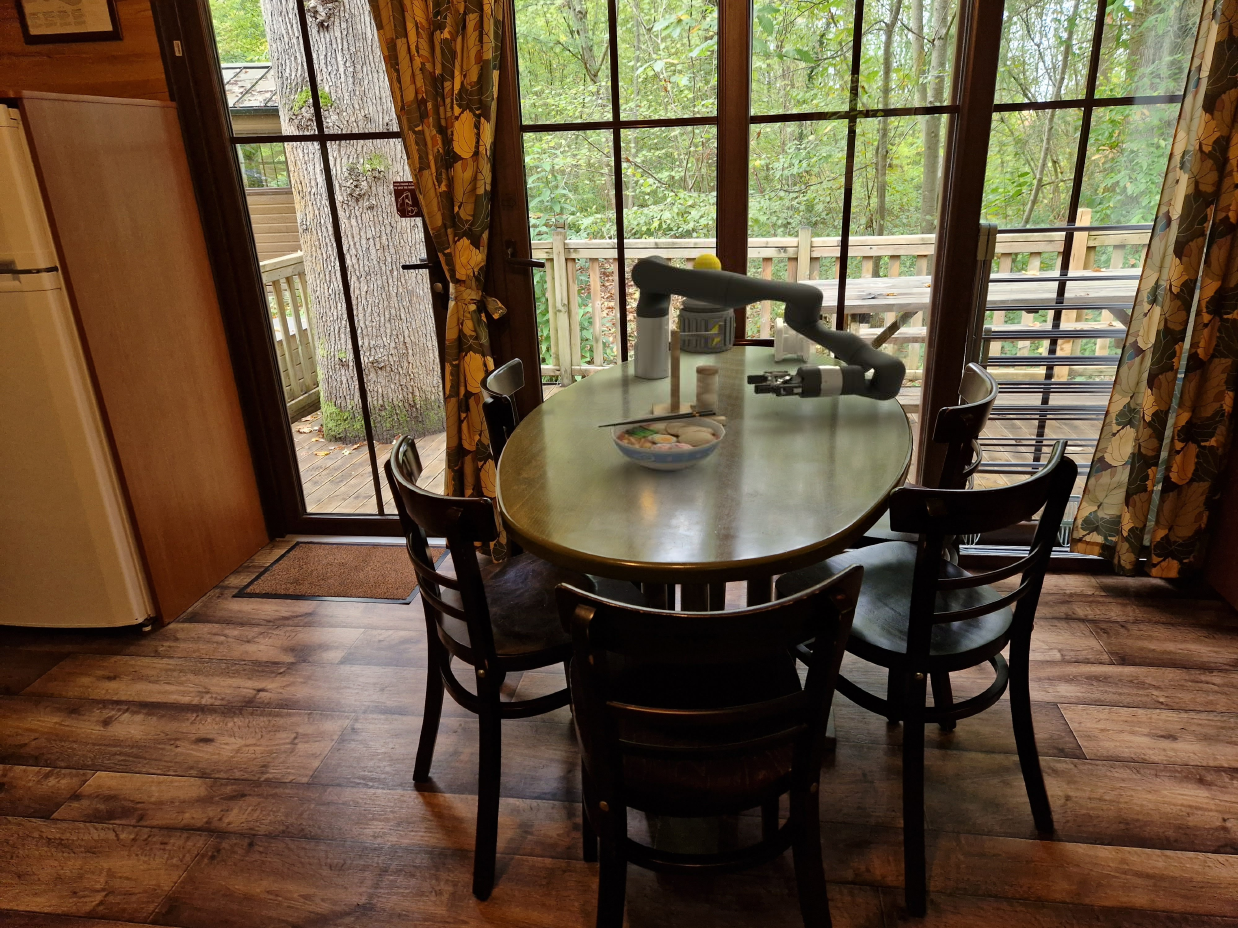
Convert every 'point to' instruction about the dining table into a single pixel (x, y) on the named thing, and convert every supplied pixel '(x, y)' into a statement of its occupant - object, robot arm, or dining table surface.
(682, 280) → the robot arm
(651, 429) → the ramen bowl
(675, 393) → the hook stand
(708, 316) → the decorative lamp
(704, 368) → the cord spool
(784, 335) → the cable organizer
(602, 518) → the dining table surface
